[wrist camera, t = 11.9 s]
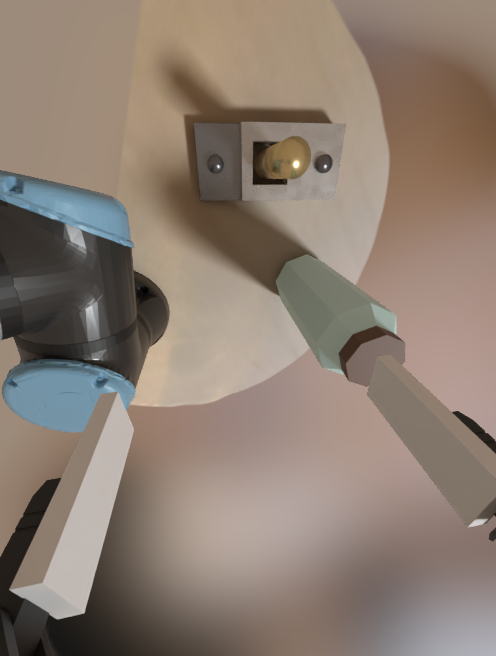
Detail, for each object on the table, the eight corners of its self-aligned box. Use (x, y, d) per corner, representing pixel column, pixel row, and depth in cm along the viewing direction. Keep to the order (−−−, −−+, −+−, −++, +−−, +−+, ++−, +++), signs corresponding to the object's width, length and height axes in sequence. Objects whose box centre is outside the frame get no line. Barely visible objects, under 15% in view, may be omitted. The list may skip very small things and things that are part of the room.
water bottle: (277, 251, 44) (342, 320, 23) (331, 253, 46) (439, 319, 24) (271, 303, 49) (320, 400, 28) (319, 303, 51) (401, 395, 29)
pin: (253, 178, 38) (275, 179, 26) (254, 149, 36) (277, 135, 24) (277, 178, 38) (308, 179, 27) (278, 149, 37) (313, 136, 25)
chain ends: (200, 200, 38) (200, 202, 35) (194, 124, 34) (192, 119, 31) (326, 198, 41) (336, 199, 38) (336, 127, 36) (348, 122, 33)
